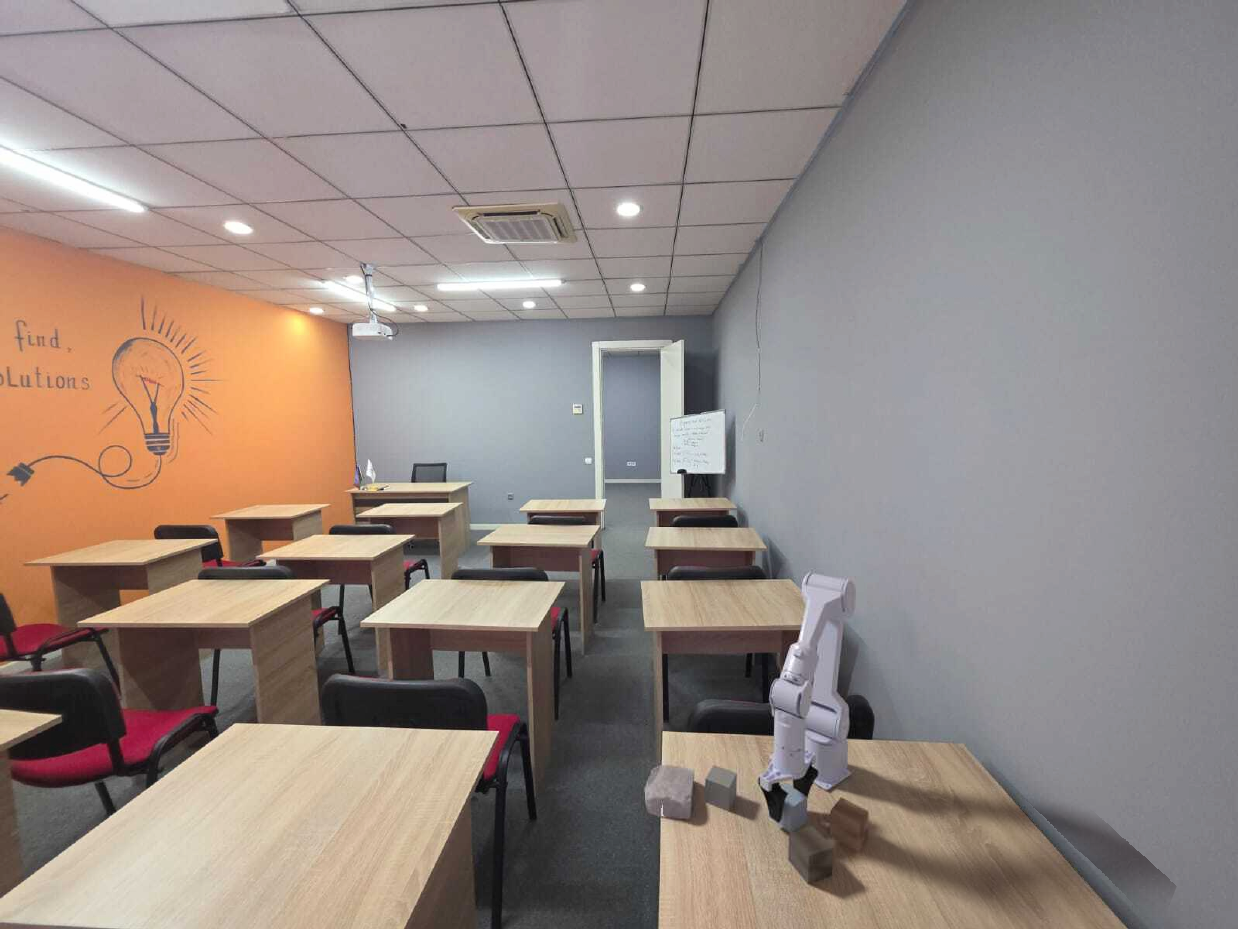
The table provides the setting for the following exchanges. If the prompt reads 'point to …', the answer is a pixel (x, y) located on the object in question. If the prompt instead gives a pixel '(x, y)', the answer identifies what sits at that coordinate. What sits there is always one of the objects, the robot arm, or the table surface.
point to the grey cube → (720, 787)
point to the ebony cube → (810, 854)
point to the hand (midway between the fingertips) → (787, 810)
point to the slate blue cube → (793, 809)
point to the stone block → (670, 791)
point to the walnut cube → (849, 824)
